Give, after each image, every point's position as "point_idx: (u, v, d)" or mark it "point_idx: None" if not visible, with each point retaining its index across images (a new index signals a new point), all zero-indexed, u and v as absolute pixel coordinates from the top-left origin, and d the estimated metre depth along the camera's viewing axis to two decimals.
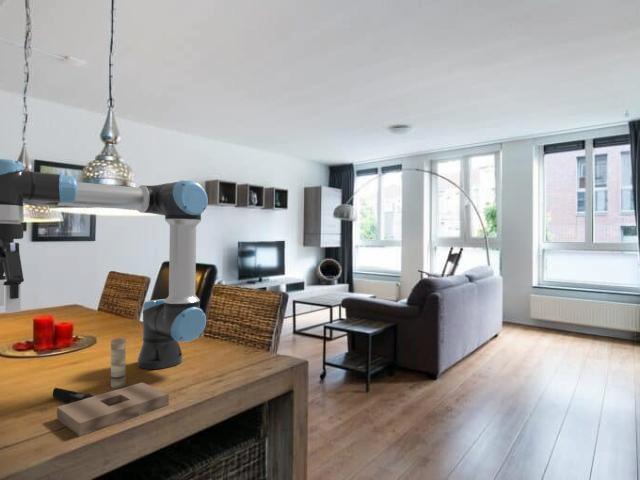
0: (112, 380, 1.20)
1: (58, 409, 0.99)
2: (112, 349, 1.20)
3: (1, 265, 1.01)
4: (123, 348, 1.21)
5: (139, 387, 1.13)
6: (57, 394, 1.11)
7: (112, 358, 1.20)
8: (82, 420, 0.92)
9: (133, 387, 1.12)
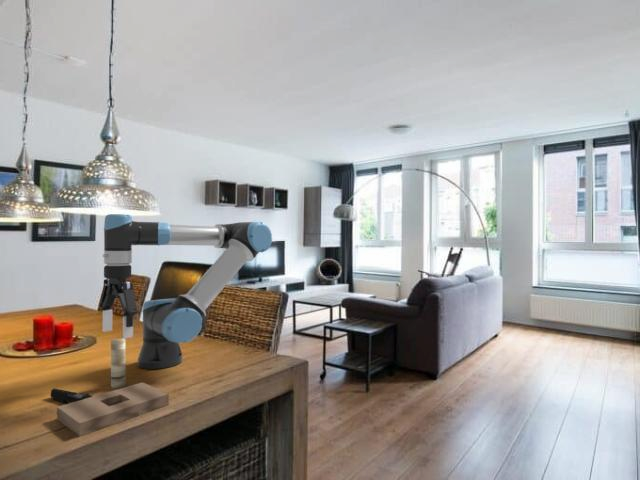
0: (112, 380, 1.20)
1: (58, 409, 0.99)
2: (112, 349, 1.20)
3: (112, 298, 1.25)
4: (123, 348, 1.21)
5: (139, 387, 1.13)
6: (55, 395, 1.11)
7: (112, 358, 1.20)
8: (82, 420, 0.92)
9: (133, 387, 1.12)
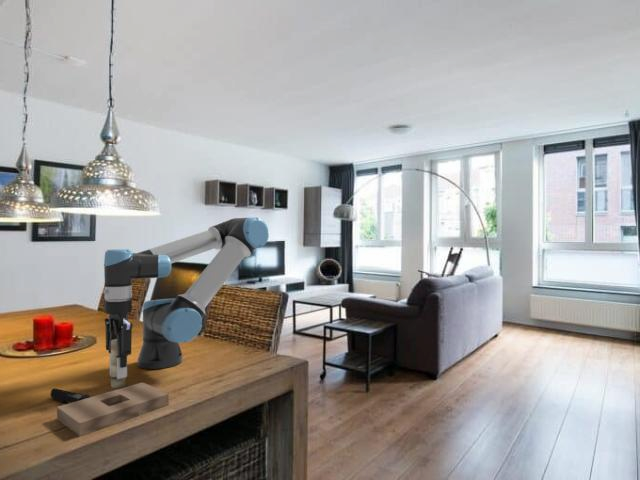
0: (112, 380, 1.20)
1: (58, 409, 0.99)
2: (112, 349, 1.20)
3: (116, 336, 1.23)
4: None
5: (139, 387, 1.13)
6: (55, 395, 1.11)
7: (112, 358, 1.20)
8: (82, 420, 0.92)
9: (133, 387, 1.12)
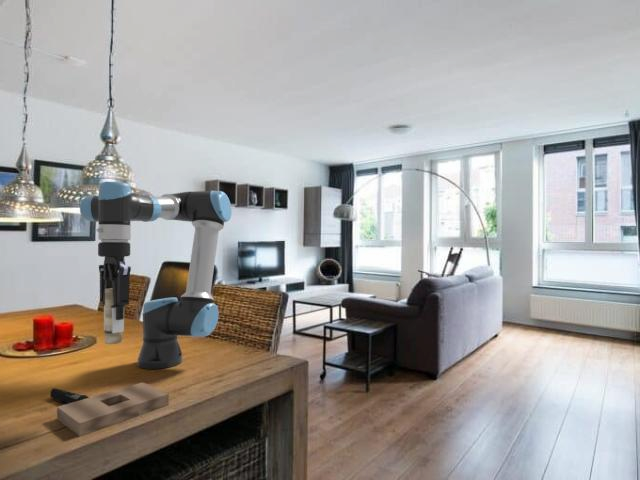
0: (106, 335, 1.02)
1: (58, 409, 0.99)
2: (106, 298, 1.02)
3: (112, 284, 1.05)
4: None
5: (139, 387, 1.13)
6: (54, 395, 1.11)
7: (106, 309, 1.02)
8: (82, 420, 0.92)
9: (133, 387, 1.12)
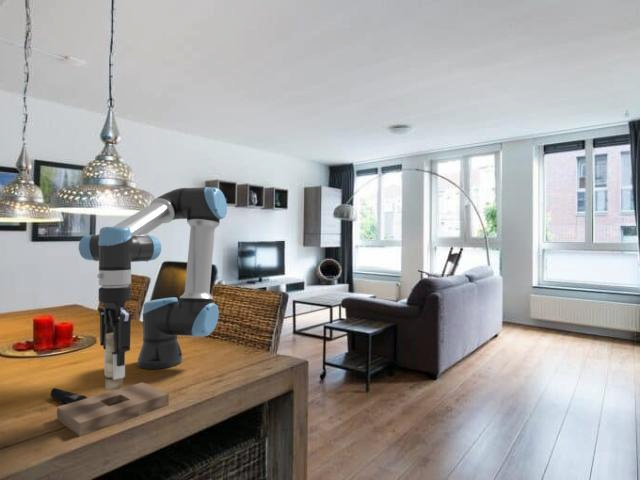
0: (107, 381, 1.02)
1: (58, 409, 0.99)
2: (107, 344, 1.02)
3: (113, 329, 1.05)
4: None
5: (139, 387, 1.13)
6: (54, 394, 1.11)
7: (107, 355, 1.02)
8: (82, 420, 0.92)
9: (133, 387, 1.12)
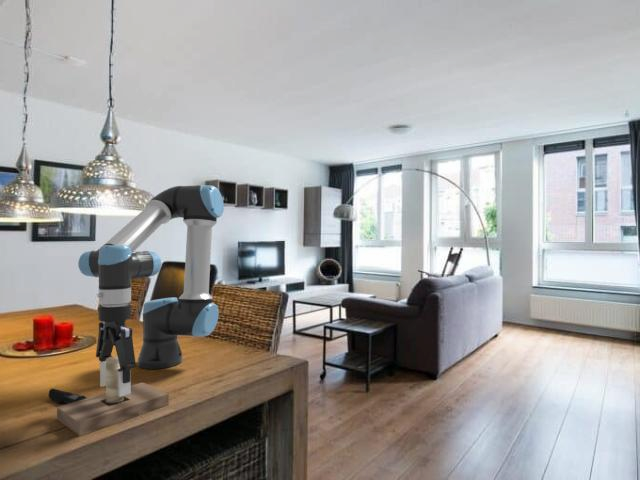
0: None
1: (58, 409, 0.99)
2: (107, 369, 1.02)
3: (110, 344, 1.06)
4: None
5: (139, 387, 1.13)
6: (52, 395, 1.11)
7: (107, 380, 1.02)
8: (82, 420, 0.92)
9: (133, 387, 1.12)
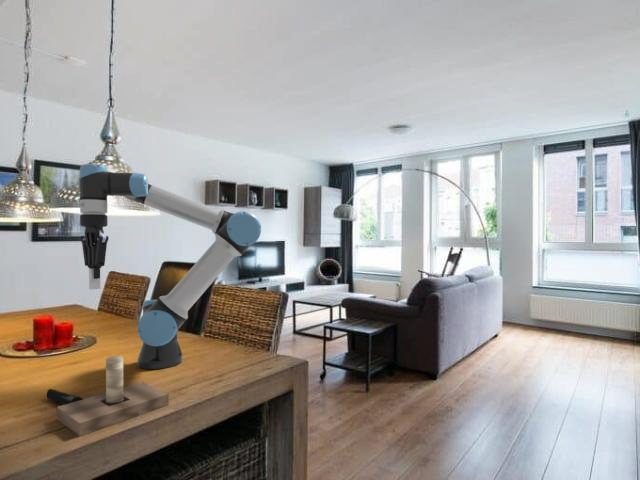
0: None
1: (58, 409, 0.99)
2: (107, 369, 1.02)
3: None
4: (120, 368, 1.03)
5: (139, 387, 1.13)
6: (50, 396, 1.10)
7: (107, 380, 1.02)
8: (82, 420, 0.92)
9: (133, 387, 1.12)
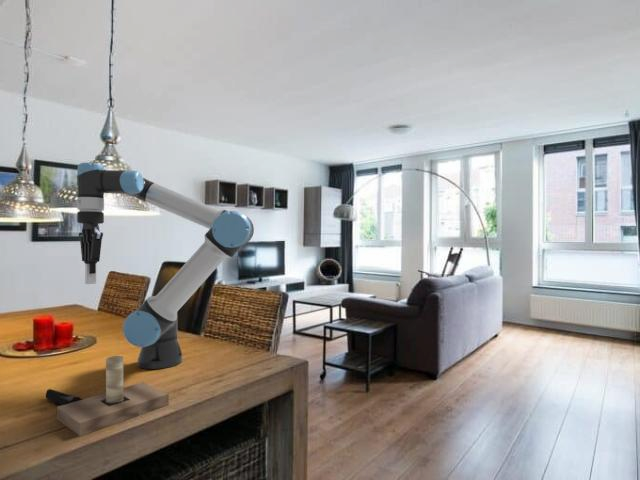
0: None
1: (58, 409, 0.99)
2: (107, 369, 1.02)
3: None
4: (120, 368, 1.03)
5: (139, 387, 1.13)
6: (49, 396, 1.10)
7: (107, 380, 1.02)
8: (82, 420, 0.92)
9: (133, 387, 1.12)
